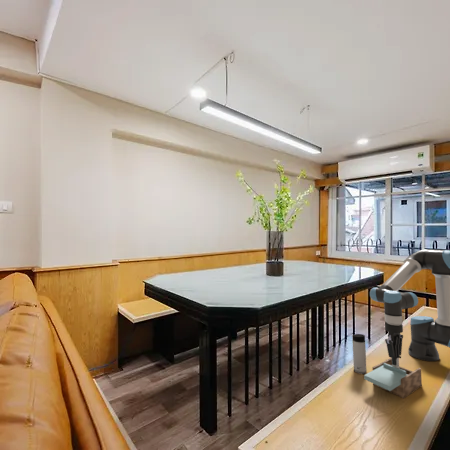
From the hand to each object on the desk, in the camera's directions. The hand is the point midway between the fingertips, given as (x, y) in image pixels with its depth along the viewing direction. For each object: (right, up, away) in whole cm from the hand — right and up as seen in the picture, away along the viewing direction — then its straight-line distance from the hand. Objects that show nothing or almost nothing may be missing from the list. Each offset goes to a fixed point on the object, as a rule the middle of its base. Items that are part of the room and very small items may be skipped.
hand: (395, 370), depth 134 cm
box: (+1, -7, 0) cm, 7 cm away
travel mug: (-10, -8, +14) cm, 20 cm away
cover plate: (-8, -1, -5) cm, 9 cm away
